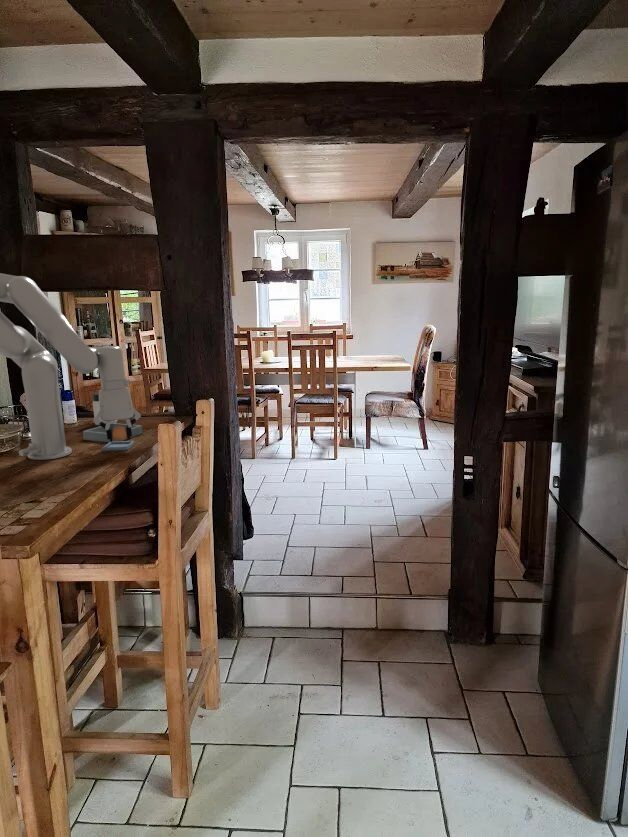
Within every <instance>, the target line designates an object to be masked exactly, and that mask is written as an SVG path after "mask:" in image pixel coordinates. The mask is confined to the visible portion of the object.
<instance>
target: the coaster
mask: <svg viewBox="0 0 628 837" xmlns="http://www.w3.org/2000/svg"><path fill="white" fill-rule="evenodd" d="M135 442H136V441H135V440H126V441H125V440H123V441H120V442H119V441H115V442H107V443H106V444H105V445H104V446H103V447H102V452H107V451H108V452H113V451H115V452H117V451H129V450H130V449H131V448H132V447H133V446H134V445H135V444H136V443H135Z"/></svg>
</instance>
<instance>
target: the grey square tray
mask: <svg viewBox="0 0 628 837" xmlns="http://www.w3.org/2000/svg"><path fill="white" fill-rule="evenodd" d="M117 426H121V427H124V428H125V429H126V427H127V423H118V422H117V423H110V429H111V432H112V430H113V429H114V428H115V427H117ZM131 431H132V436H130V439H131V438H135V437H137V436H140V435H143V433H144V430H143V425H141V424H133V425H132V427H131ZM82 436H83V440H85V441H92V442H102V443H103V442H104V443H109V442H110V439H107V432H106V429H104V428H103V427H102V426H100V425H98V426H97V427H96V426H95V427H93V428H89V429H85V430H83V431H82ZM125 440H126V441H127V440H129V439H128V438H127V437H126V439H125ZM125 440H124V441H125ZM112 442H115V440H114V439H113V438H112Z"/></svg>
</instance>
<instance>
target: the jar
mask: <svg viewBox="0 0 628 837" xmlns="http://www.w3.org/2000/svg"><path fill="white" fill-rule="evenodd" d="M91 396H92V407H93V416H94V418H95V417H96V415H97V414H98V412H99V411H100V409H99V391H97V392H93V393H92V394H91ZM94 418H93V419H94ZM99 420H100V421H102V422H104V423H106V421H103V420H102V419H101V417H100V418H99ZM110 423H118V420H114V421H111V422H110ZM94 425H95V426H100V425H99V424H97V423H95V422H94Z"/></svg>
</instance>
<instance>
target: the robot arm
mask: <svg viewBox="0 0 628 837" xmlns="http://www.w3.org/2000/svg"><path fill="white" fill-rule="evenodd" d="M0 302H2V303H9V304H12V305H13V304H14V306H15V307H16V308H17V309H18V310H19V312H21V313H22V314H23V316H24V317H26V318H27V319H28V321H29V322H30V323H31V324H32V326H34V327H35V328H36V329H37V331H38V332H40V334H41V335H42V336H43V337H44V339H45V340H47V341H48V342H49V343H50V345H52V347H53V348H54V349H55V350H56V351H57V352H58V353H59V355H60V356H62V358H63V359H64V360H65V361H66V362H67V363H68V364H69V365H70V366H71V367H72V368H73V369H74V370H75V371H76V372H77V373H81V374H85V375H86V374H90V373H92V372H94V371H95V370H96V369H98V372H99V379H100V388H101V389H99V390H98V392H99V409H100V411H99V412H98V414H97V415H96V417H95V418H93V422H94V424H95V423H97V424H99V425H98V426H102V427H103V428H104V429H106V432H107V439H110V442H112V434H111V429H110V422H111V421H114V420H117V421H122V420H125V424H127V427H126V430H127V438H128V439H127V440H128V441H131V438H130V436H132V431H131V427H132V425H135V423H136V422H137V421H138V420H139V419H140V418H141V416H142V415H141V414H140V412H138V411H137V410H136V408H134V406H133V401H132V395H131V391H130V388H129V387H127V386H129V385H131V384H132V383H131V380H130V379H126V374H125V365H124V355H123V354H124V353H123V349H122V347H120V346H118V345H108V346H101V347H94V346H93V347H91V346H88V345H87V344H86V343H85V341H84V340H83V339H82V338H81V337H80V335H79V334H77V332H76V331H75V330H74V328H73V326H72V325H71V324H70V323H69V321H68V320H67V318H66V316H65V315H64V314H63V313H62V311H60V309H59V308H58V307H57V306H56V305H55V304H54V303H53V301H52V300H50V298H49V297H48V296H47V295H46V294H45V293H44V292H43V290H41V288H40V287H39V286H38V284H37V283H36V282H35V281H34V280H33V279H31V278H30V277H28V276H25V275H18V276H17V275H12V274H6V273H1V272H0ZM0 354H1V355H2V356H3V357H5V358H9V359H10V360H12V361H13V362H14V363H15V364H16V365H17V366H18V367H19V368H20V369H21V377H22V378H21V379H22V383H23V388H24V393H25V394H24V395H25V402H26V409H27V416H28V424H29V425H28V426H29V431H30V440H31V442H30V443H28V447H26V448H23V449H19V451H18V455H19V456H20V457H24V456H27V458H28V459H30V460H36V461H37V460H38V461H45V460H54V459H60V458H63V457H66V456H69V455H70V454H72V453H73V451H72V450H73V449H72V448H71V447H70V446H67V445H66V444H67V443H66V435H65V428H64V427H65V426H64V418H63V411H62V401H61V400H62V399H61V393H60V385H59V374H58V373H59V372H58V371H59V370H58V369H59V366H58V361H57V359H56V358H55V356H53V354H51V352H49V350H47V349H46V348H45V347H44V346H43V345H42V344H41V343H40V342H39V341H38V340H37V339H36V338H35V337H34V336H33V335H32V334H31V333H30V332H29V331H28V330H27V329H25V328H24V327H22V326H20V325H15V324H14V323H13V322H12V321H11V320H10V319H9V318H8V317H7V316H6V315H5V314H4V313H3V312H2V311H1V310H0ZM100 417H101V419H102V420H103V421H106V423H104V422H102V421H100V420H99V418H100Z"/></svg>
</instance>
